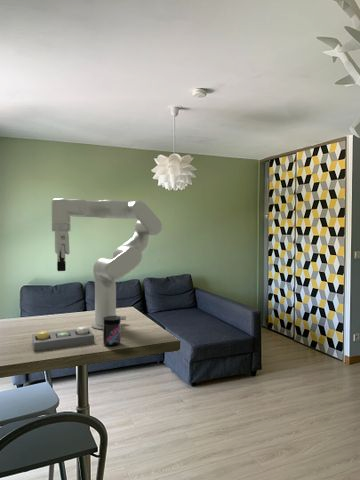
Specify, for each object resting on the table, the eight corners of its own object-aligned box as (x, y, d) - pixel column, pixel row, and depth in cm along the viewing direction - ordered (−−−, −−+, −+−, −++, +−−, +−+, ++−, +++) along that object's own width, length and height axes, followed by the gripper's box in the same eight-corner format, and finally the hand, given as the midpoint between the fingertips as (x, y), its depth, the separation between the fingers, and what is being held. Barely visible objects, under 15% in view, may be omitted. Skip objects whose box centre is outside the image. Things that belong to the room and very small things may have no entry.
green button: (68, 337, 141) (68, 331, 141) (69, 341, 137) (69, 334, 137) (56, 339, 139) (56, 333, 139) (58, 342, 135) (58, 336, 135)
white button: (86, 331, 144) (86, 326, 144) (89, 335, 140) (89, 328, 140) (75, 333, 142) (75, 327, 142) (77, 336, 138) (77, 330, 138)
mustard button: (48, 336, 138) (48, 330, 137) (49, 340, 134) (49, 333, 134) (36, 338, 136) (36, 331, 136) (37, 341, 132) (37, 335, 132)
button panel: (88, 334, 148) (88, 327, 148) (94, 342, 138) (94, 335, 138) (32, 341, 138) (32, 334, 138) (34, 351, 128) (34, 343, 128)
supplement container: (102, 347, 133) (102, 320, 132) (103, 341, 139) (103, 315, 139) (120, 346, 134) (120, 319, 133) (120, 340, 140) (120, 315, 140)
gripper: (73, 228, 142) (73, 272, 143) (67, 227, 156) (67, 268, 156) (53, 228, 139) (54, 273, 140) (49, 227, 152) (50, 269, 153)
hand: (61, 270), depth 148 cm, fingers closed
